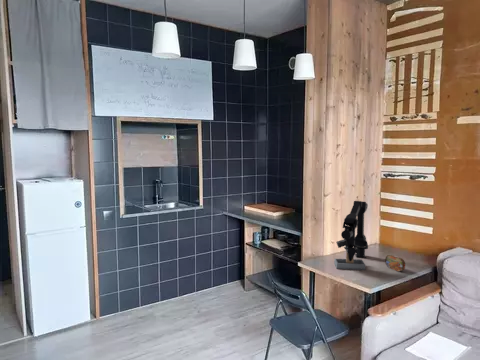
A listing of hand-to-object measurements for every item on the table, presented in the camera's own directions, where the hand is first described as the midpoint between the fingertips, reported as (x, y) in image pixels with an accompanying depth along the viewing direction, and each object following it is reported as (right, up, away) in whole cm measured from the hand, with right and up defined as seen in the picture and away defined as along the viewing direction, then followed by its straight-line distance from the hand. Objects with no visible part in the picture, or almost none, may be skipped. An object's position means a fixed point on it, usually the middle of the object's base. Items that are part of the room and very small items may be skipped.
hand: (349, 260), depth 239 cm
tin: (+28, -5, -4) cm, 28 cm away
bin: (0, -4, 0) cm, 4 cm away
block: (0, -2, 0) cm, 2 cm away
